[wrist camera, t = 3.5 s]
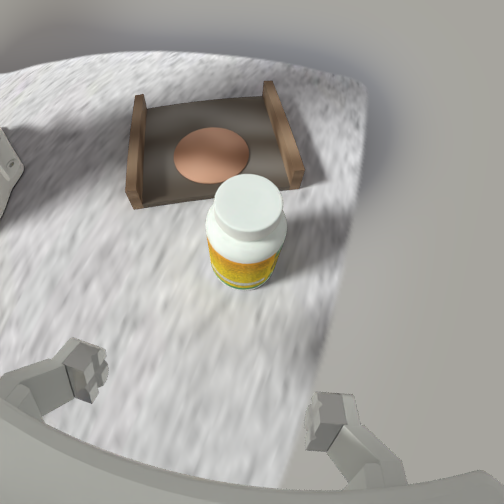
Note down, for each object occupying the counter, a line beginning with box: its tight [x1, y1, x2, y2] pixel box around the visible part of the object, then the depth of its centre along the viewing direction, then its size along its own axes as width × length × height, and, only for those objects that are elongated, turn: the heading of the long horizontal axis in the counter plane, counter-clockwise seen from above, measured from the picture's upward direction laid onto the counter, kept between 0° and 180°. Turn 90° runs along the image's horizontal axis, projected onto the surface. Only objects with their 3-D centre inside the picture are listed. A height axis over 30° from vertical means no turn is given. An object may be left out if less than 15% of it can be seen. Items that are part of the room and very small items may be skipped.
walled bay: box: [125, 81, 305, 209], centre depth 30 cm, size 14×16×3 cm
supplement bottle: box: [206, 174, 287, 291], centre depth 22 cm, size 5×5×10 cm
